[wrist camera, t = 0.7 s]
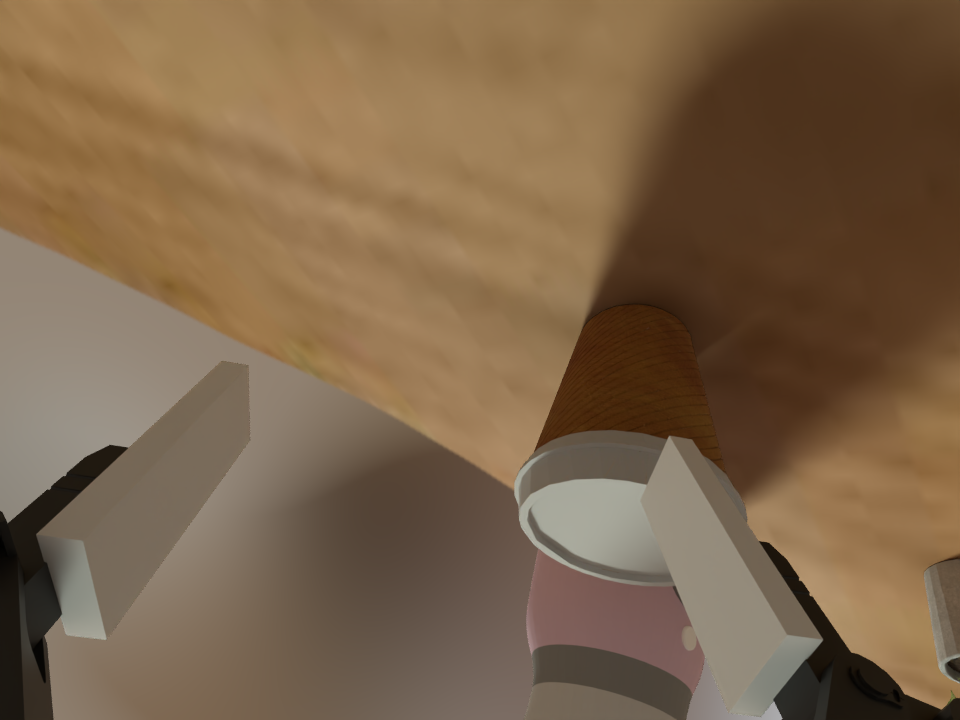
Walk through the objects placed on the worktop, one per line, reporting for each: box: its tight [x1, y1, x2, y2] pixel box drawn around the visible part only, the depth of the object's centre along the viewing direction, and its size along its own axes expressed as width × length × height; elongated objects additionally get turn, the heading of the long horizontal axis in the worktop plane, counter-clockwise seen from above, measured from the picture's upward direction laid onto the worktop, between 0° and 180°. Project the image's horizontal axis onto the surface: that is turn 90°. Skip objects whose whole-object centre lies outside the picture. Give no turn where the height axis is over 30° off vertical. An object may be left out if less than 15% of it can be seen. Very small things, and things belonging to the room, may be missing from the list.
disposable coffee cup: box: [515, 305, 747, 587], centre depth 24 cm, size 10×10×12 cm
